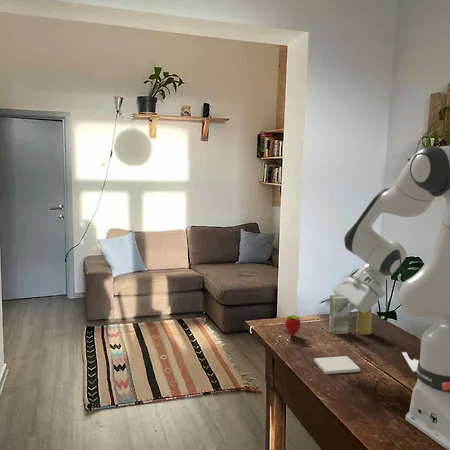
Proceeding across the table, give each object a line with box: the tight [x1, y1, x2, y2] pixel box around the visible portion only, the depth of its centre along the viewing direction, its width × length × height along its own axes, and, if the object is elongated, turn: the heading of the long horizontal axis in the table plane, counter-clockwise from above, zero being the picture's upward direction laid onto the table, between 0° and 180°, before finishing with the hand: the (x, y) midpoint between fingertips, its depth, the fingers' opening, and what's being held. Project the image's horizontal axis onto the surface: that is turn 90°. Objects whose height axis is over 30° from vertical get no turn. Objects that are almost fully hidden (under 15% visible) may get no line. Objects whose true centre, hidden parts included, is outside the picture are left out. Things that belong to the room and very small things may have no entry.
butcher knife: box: [401, 351, 420, 373], centre depth 156 cm, size 5×15×1 cm, turn 171°
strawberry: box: [285, 313, 302, 338], centre depth 178 cm, size 6×8×10 cm
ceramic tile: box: [313, 355, 361, 375], centre depth 152 cm, size 10×12×1 cm
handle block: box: [328, 294, 350, 335], centre depth 150 cm, size 4×5×12 cm
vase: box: [355, 307, 373, 336], centre depth 183 cm, size 6×6×14 cm
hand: (337, 311), depth 150 cm, fingers closed on handle block, 4 cm apart
